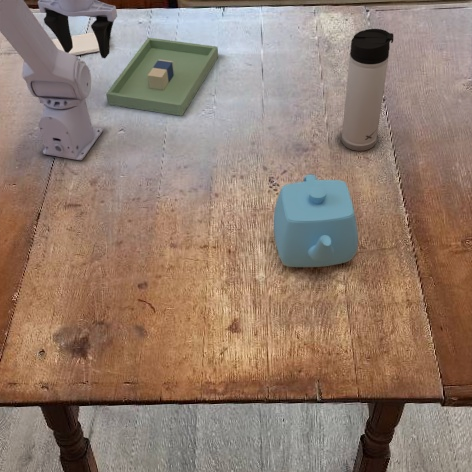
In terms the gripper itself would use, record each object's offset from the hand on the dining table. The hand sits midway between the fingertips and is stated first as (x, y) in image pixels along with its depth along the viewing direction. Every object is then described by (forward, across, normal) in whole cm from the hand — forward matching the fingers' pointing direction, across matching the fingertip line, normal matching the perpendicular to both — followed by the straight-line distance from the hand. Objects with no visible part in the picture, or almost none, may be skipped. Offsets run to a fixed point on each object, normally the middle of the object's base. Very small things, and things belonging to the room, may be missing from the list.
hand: (87, 52), depth 128 cm
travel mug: (+10, -53, +1) cm, 54 cm away
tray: (+9, -11, -9) cm, 17 cm away
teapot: (+10, -52, +31) cm, 61 cm away
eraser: (+9, -11, -8) cm, 16 cm away
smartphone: (+9, +13, -16) cm, 23 cm away
